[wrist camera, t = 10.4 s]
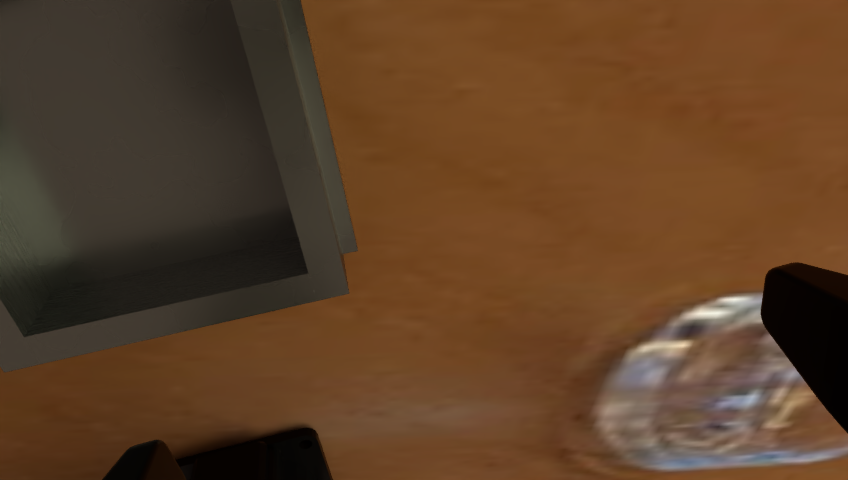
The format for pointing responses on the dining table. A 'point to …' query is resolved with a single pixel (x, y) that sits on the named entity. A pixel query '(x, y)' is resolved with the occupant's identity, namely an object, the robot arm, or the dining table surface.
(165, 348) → the dining table surface
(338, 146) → the dining table surface
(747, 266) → the dining table surface
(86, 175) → the keyhole guide
